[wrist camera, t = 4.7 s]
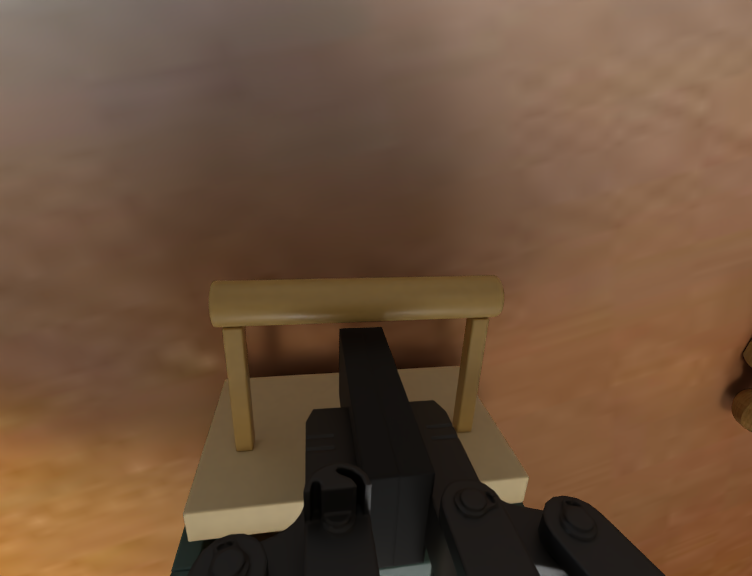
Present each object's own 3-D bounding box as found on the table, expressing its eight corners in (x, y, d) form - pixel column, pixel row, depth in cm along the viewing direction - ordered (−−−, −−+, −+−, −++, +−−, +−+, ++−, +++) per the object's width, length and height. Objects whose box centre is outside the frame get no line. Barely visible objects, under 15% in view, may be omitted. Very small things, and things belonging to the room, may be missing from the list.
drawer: (208, 243, 16) (145, 322, 9) (475, 241, 17) (570, 307, 11) (248, 579, 23) (227, 749, 17) (433, 554, 25) (476, 699, 18)
